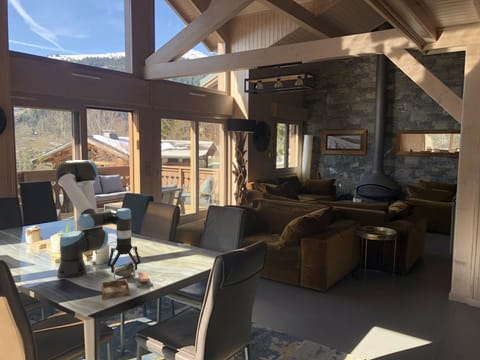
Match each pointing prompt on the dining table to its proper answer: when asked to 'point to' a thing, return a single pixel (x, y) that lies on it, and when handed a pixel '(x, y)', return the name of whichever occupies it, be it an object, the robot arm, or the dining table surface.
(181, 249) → the dining table surface
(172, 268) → the dining table surface
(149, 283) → the checker base
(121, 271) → the rock
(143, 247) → the dining table surface
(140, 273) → the checker pad
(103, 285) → the tray
